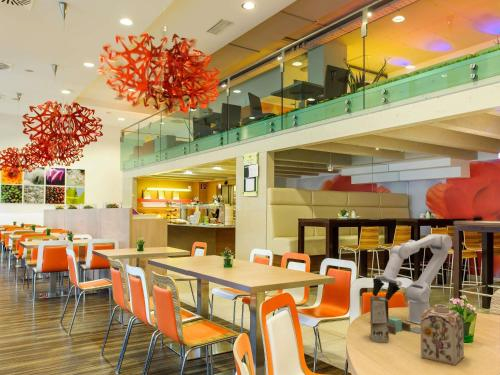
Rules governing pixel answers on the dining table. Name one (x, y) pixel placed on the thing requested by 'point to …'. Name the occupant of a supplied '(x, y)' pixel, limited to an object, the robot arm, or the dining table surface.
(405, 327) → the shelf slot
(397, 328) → the block
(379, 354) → the dining table surface
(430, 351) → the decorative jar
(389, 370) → the dining table surface
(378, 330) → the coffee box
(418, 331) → the mat
